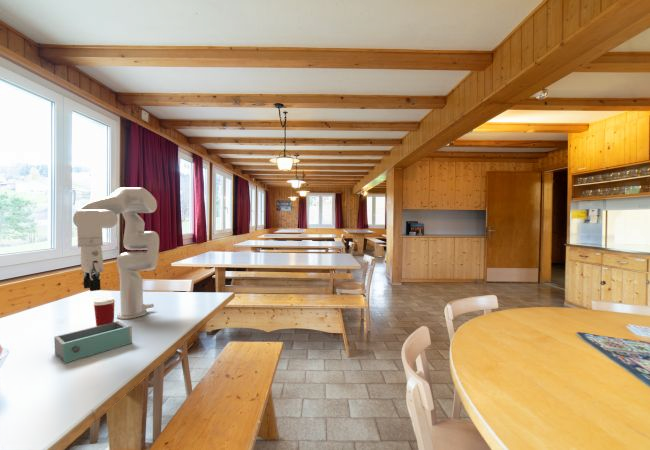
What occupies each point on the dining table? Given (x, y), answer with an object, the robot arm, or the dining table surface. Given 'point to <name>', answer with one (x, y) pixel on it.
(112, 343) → the green drawer with knob
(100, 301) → the paper cup
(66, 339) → the case
